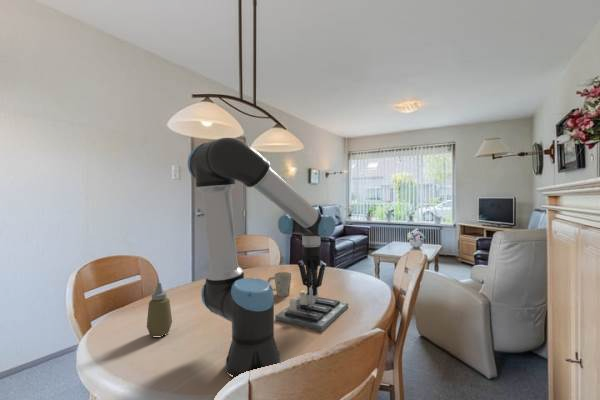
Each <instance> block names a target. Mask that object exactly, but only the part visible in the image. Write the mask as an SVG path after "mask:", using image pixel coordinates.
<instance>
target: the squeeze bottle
mask: <svg viewBox="0 0 600 400" xmlns="http://www.w3.org/2000/svg"><path fill="white" fill-rule="evenodd" d="M167 296H168V294H167V292H166V291H164V289H163V285H162V283H161V282H157V283H156V287H155V292H153V293H152V294H151V299H150V301H149V302H148V308H147V309H148V310H147V319H146V329H147V331H148V334H149V336H150V335H151V336H162V335H165V334H167V333H168V332H169V333H170V329H171V327H172V323H173V317H172V309H171V302H170V301H171V300H170V298H169V297H167ZM169 333H168V334H169ZM168 334H167V335H168ZM151 336H150V337H151ZM165 336H166V335H165Z"/></svg>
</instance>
